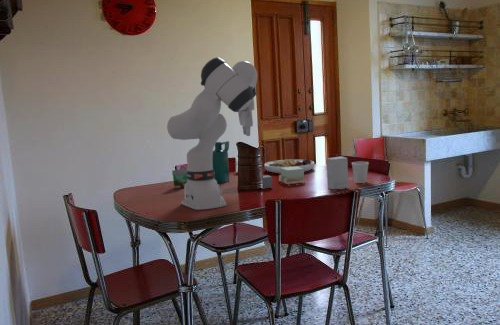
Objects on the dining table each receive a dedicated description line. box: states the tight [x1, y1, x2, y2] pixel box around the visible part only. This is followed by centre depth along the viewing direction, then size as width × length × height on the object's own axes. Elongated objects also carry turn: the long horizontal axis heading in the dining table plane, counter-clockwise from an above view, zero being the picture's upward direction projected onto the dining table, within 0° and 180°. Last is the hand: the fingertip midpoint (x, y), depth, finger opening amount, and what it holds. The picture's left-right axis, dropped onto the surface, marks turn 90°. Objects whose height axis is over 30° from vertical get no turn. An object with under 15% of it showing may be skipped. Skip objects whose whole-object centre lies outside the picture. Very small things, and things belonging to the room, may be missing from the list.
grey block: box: [262, 174, 273, 188], centre depth 216 cm, size 5×5×6 cm
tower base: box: [278, 175, 306, 184], centre depth 227 cm, size 10×10×4 cm
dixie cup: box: [351, 161, 370, 183], centre depth 218 cm, size 8×8×10 cm
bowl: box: [264, 158, 315, 173], centre depth 265 cm, size 30×30×8 cm
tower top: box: [280, 166, 305, 178], centre depth 226 cm, size 9×9×4 cm
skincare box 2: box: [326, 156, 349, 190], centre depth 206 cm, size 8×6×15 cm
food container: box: [171, 166, 188, 190], centre depth 229 cm, size 12×6×10 cm, turn 168°
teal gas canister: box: [212, 140, 230, 184], centre depth 239 cm, size 10×8×22 cm
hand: (246, 135), depth 214 cm, fingers open, 8 cm apart
